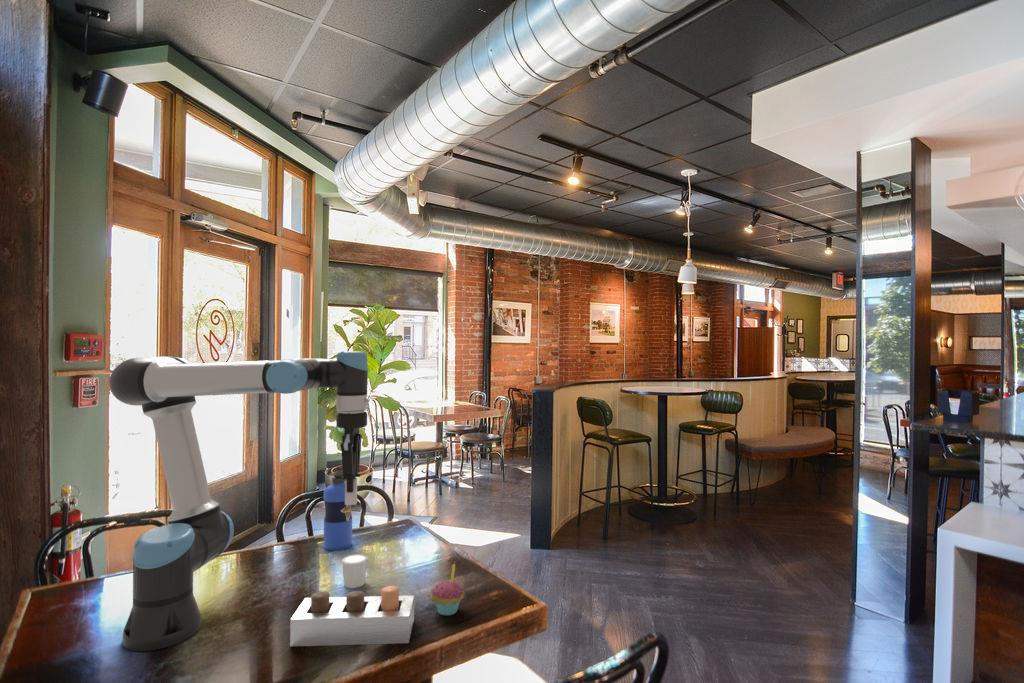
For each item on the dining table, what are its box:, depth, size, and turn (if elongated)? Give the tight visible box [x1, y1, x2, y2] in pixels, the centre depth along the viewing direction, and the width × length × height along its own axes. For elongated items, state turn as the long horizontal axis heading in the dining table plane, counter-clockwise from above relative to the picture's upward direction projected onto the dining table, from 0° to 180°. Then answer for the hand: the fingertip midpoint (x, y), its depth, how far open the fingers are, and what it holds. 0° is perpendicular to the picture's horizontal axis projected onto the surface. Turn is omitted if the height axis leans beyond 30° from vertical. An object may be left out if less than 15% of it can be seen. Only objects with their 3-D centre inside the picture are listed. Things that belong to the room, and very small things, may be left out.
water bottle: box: [323, 469, 353, 552], centre depth 177 cm, size 9×9×25 cm
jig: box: [289, 595, 415, 648], centre depth 123 cm, size 26×10×6 cm, turn 94°
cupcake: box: [430, 561, 466, 616], centre depth 133 cm, size 9×8×12 cm
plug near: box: [310, 591, 330, 613], centre depth 122 cm, size 4×4×7 cm
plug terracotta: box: [380, 585, 400, 611], centre depth 124 cm, size 4×4×7 cm
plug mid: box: [345, 590, 365, 612], centre depth 123 cm, size 4×4×7 cm
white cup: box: [341, 553, 368, 589], centre depth 149 cm, size 7×7×7 cm
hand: (350, 503), depth 135 cm, fingers closed
